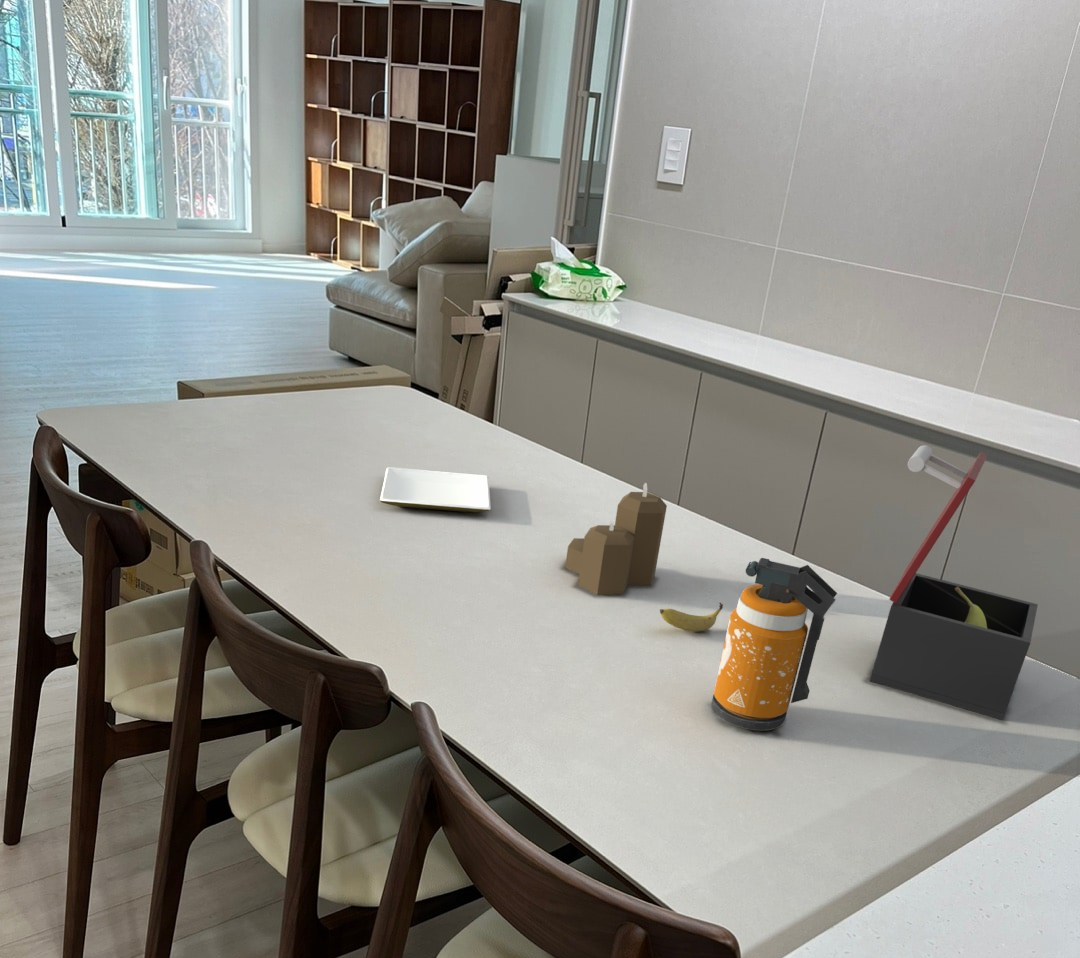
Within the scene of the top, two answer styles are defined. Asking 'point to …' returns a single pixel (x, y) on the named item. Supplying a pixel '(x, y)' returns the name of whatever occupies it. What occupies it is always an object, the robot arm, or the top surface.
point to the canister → (770, 645)
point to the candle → (620, 547)
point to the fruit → (973, 612)
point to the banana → (689, 620)
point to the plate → (436, 490)
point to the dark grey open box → (955, 645)
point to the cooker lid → (918, 464)
